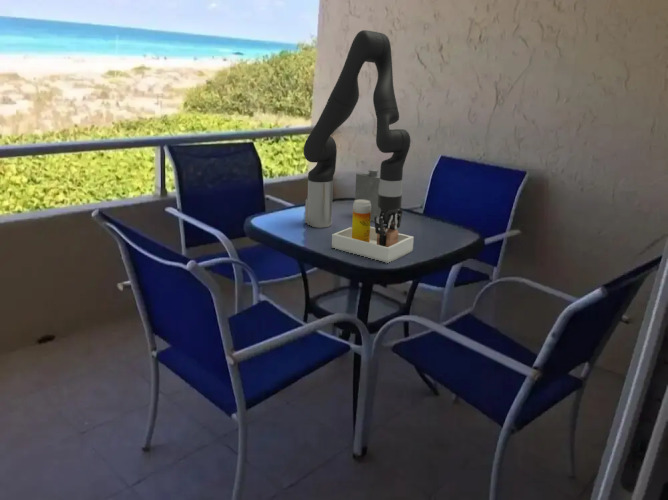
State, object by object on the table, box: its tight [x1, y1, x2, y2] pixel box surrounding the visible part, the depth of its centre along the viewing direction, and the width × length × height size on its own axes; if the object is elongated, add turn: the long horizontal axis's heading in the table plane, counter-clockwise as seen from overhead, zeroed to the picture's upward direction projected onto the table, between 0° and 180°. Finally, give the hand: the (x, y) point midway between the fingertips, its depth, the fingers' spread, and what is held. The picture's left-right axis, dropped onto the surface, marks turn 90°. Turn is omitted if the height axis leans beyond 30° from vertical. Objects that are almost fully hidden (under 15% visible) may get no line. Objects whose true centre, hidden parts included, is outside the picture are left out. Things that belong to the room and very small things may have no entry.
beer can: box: [351, 199, 372, 242], centre depth 194 cm, size 6×6×15 cm
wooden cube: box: [377, 228, 399, 247], centre depth 190 cm, size 5×5×5 cm
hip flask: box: [354, 168, 381, 223], centre depth 225 cm, size 16×4×20 cm, turn 54°
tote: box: [331, 226, 415, 264], centre depth 194 cm, size 22×16×5 cm
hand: (387, 243), depth 190 cm, fingers closed on wooden cube, 5 cm apart
